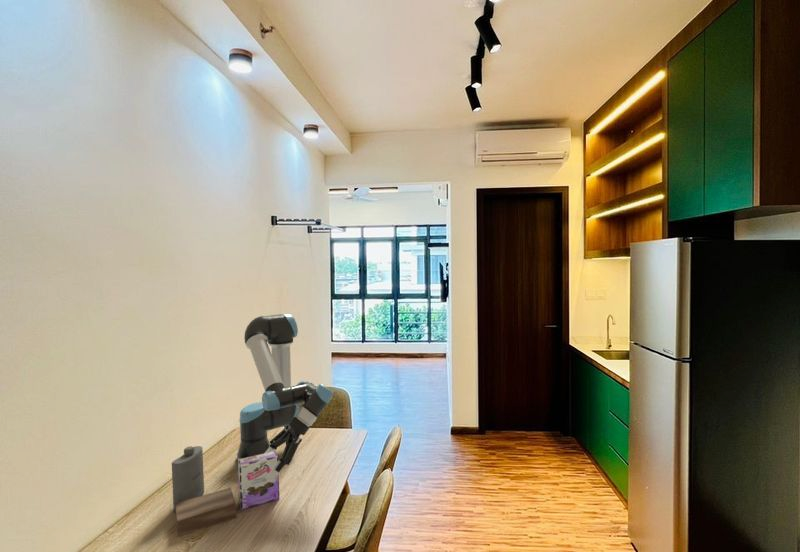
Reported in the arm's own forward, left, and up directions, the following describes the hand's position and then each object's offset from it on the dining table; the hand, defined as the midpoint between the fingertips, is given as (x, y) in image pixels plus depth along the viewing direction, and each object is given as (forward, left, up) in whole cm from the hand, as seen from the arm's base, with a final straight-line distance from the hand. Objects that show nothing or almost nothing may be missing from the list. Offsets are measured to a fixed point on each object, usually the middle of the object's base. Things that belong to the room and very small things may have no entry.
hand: (265, 470), depth 150 cm
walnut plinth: (-2, -20, -11) cm, 23 cm away
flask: (-17, -24, -12) cm, 31 cm away
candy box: (-2, -2, -12) cm, 12 cm away
